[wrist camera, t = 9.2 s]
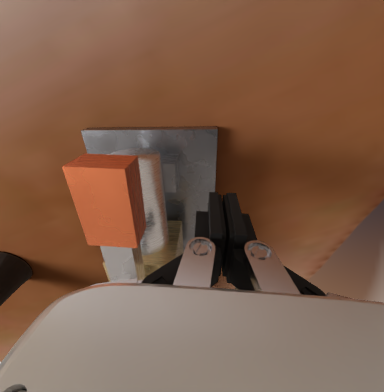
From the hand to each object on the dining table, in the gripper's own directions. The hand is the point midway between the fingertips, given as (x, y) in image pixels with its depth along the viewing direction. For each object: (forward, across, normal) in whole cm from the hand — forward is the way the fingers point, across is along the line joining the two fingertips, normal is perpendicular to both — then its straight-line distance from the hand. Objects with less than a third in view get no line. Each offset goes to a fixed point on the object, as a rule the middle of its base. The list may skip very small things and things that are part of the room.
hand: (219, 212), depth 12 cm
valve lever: (+1, +6, +4) cm, 7 cm away
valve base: (+11, +6, +10) cm, 16 cm away
